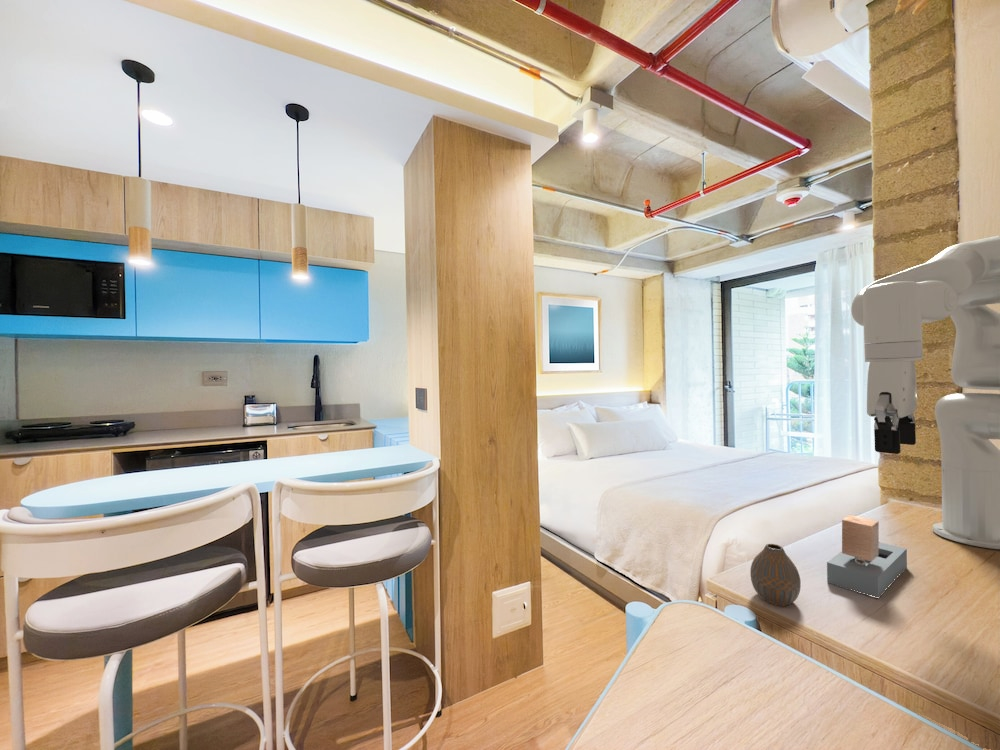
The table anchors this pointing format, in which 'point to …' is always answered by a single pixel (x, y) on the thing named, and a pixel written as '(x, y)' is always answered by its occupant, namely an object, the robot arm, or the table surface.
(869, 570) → the keyhole plate
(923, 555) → the table surface
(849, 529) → the key
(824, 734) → the table surface
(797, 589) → the vase
